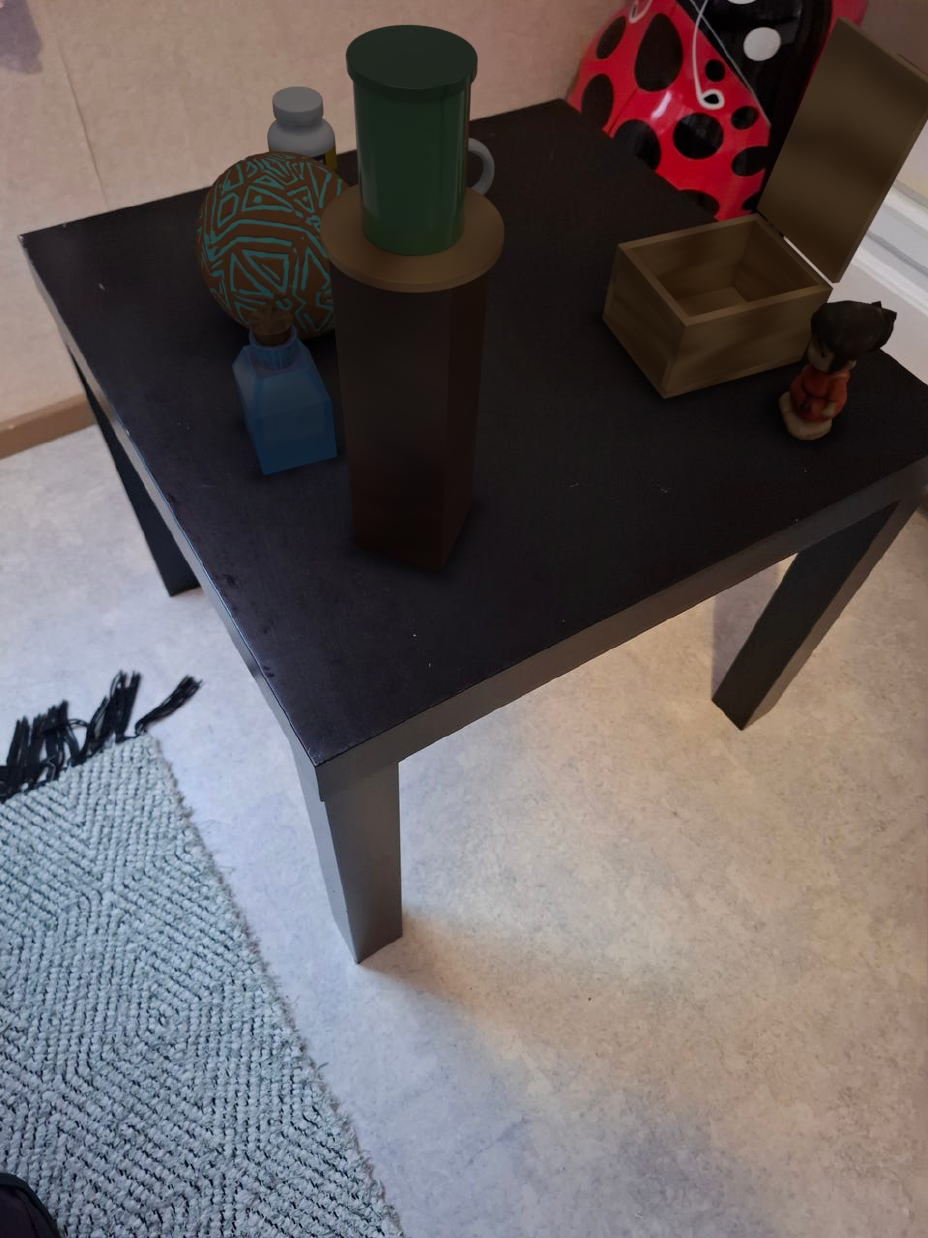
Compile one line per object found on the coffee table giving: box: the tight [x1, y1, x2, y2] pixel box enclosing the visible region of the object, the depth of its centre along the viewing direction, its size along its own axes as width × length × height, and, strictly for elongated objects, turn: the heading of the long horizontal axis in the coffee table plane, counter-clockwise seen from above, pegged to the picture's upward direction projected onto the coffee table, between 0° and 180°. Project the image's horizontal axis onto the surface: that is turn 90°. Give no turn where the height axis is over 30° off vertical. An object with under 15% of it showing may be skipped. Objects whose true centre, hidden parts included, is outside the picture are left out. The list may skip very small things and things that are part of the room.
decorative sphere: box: [195, 151, 351, 341], centre depth 75 cm, size 15×15×15 cm
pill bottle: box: [266, 86, 339, 175], centre depth 86 cm, size 6×6×12 cm
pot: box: [345, 24, 479, 256], centre depth 44 cm, size 6×6×8 cm
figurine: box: [778, 299, 898, 441], centre depth 73 cm, size 6×6×12 cm
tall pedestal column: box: [320, 183, 505, 574], centre depth 58 cm, size 10×10×26 cm
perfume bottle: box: [231, 307, 338, 476], centre depth 68 cm, size 6×6×12 cm
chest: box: [601, 212, 834, 400], centre depth 80 cm, size 15×12×8 cm
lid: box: [756, 16, 928, 285], centre depth 72 cm, size 16×12×5 cm
